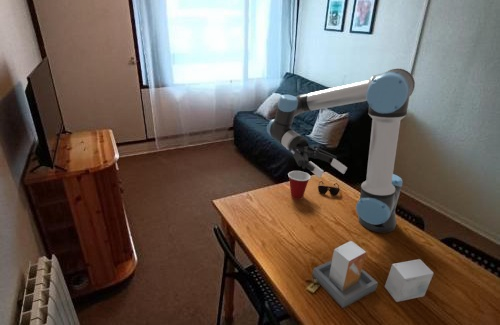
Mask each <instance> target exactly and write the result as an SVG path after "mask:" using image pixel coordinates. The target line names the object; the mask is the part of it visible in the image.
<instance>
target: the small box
mask: <svg viewBox="0 0 500 325" xmlns="http://www.w3.org/2000/svg"><path fill="white" fill-rule="evenodd" d="M366 255H367V251H365V250H364V249H363V248H362V247H360V246H359V245H358V244H357V243H355V242H354V241H352V240H349V241H347V242H346V243H344V244H341V245H340V246H338V247H336V248H334V249H333V253H332V258H331V260H332V263H331V269H330V274H329V280H330V281H331V282H332V283H334V284H335V285H336V286H337V287H338V288H339V289H340V290H341V291H344V290H346V289H347V288H349V287H350V286H352V285H354V284H355V283H357V282H359V279H360V275H361V271H362V269H363V267H364V262H365V258H366Z"/></svg>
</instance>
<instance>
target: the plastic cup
mask: <svg viewBox="0 0 500 325" xmlns="http://www.w3.org/2000/svg"><path fill="white" fill-rule="evenodd" d="M287 175H288V178H289V189H290V196H291V198H292V199H294V200H301V199H303V197H304V195H305V192H306V190H307V185H308V182H309V180H310V179H311V178H312V177H311V175H310V174H309V173H308V172H304V171H301V170H292V171H289V172H288V173H287Z"/></svg>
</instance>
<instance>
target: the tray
mask: <svg viewBox="0 0 500 325" xmlns="http://www.w3.org/2000/svg"><path fill="white" fill-rule="evenodd" d="M331 263H332V259H331V260H329V261H326V262H325V263H322V264H321V265H318V266H316V267H314V268H313V271H312V277H313V278H314V279H315V280H316V279H317V280H318V281H317V280H316V281H317V282H318V284H319V285H321V287H323V289H324V291H326V292H327V293H328V294H329V295H330V297H332V298H333V300H335V302H336V303H337V304H338V305H339V306H340V307H341V309H345V308H347V307H349V306H350V305H352V304H354V303H355V302H357V301H359V300H361V299H362V298H365V297H366V296H368V295H370V294H371V293H373V292H375V291H377V287H378V284H379V282H378V281H377V280H376V279H374V278H373V277H372V276H371V275H370V274H369V273H367V272H366V271H365V270H364V269H363V268H362V271H361V275H360V279H359V282H357V283H355V284H354V285H352V286H350V287H349V288H347V289H346V290H344V291H341V290H340V289H339V288H338V287H337V286H336V285H335V284H334V283H332V282H331V281H330V280H329V274H330V269H331Z"/></svg>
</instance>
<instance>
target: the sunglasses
mask: <svg viewBox="0 0 500 325" xmlns="http://www.w3.org/2000/svg"><path fill="white" fill-rule="evenodd" d="M320 183H321V184H322V185H320ZM323 184H324V181H323V180H320V181H319V182H318V186H317V190H318V193H320V194H323V195H325V194H327V193H328V191H329V194H330V195H331V196H337V195H339V193H340V191H341V190H340V189H341V188H340V186H339V185H340V184H339V183H338V182H336V183H333V186H328V185H323ZM335 185H337V187H335Z"/></svg>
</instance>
